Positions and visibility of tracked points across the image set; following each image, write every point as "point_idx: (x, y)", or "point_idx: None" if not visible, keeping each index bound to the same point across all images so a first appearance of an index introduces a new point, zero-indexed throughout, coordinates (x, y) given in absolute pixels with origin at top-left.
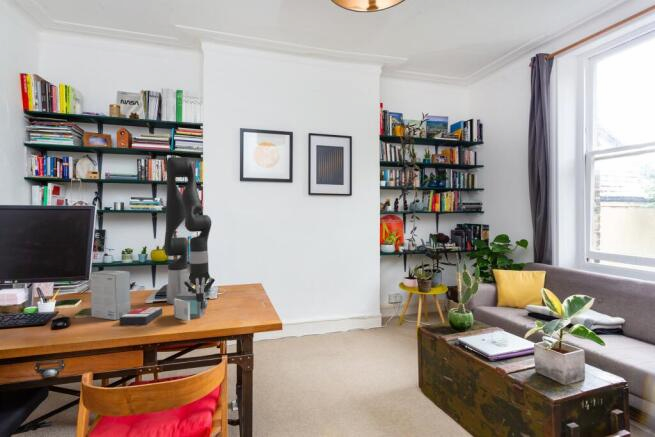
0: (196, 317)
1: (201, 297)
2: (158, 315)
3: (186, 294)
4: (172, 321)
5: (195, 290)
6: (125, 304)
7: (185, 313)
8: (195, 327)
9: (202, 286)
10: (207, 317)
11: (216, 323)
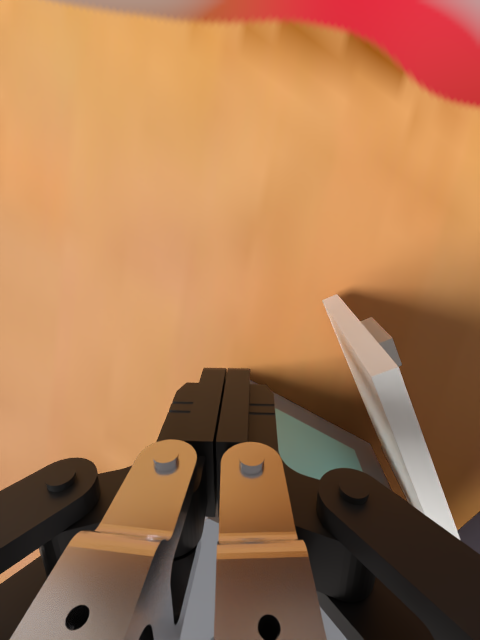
0: (251, 382)
1: (201, 398)
2: (460, 539)
3: (339, 631)
4: (413, 400)
5: (305, 520)
6: None
7: (377, 326)
8: (306, 164)
9: (114, 563)
10: (177, 356)
11: (133, 171)
